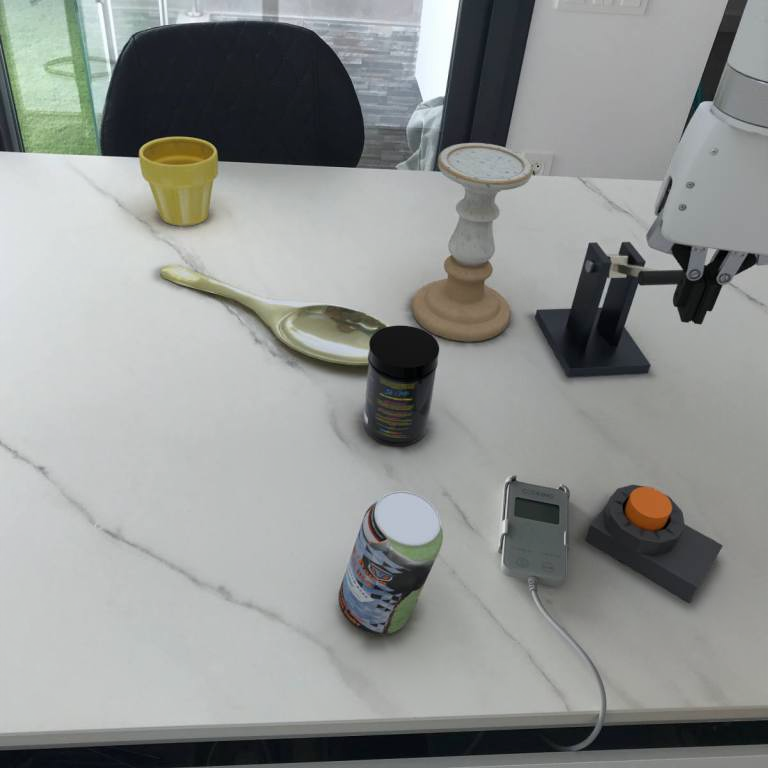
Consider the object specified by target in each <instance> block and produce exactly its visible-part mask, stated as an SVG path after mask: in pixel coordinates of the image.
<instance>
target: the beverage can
mask: <svg viewBox="0 0 768 768" xmlns="http://www.w3.org/2000/svg"><path fill="white" fill-rule="evenodd" d="M440 517H441V516H440V514H439V512H438V510H437V508H436V507H435V505H433V504H432V503H431V502H430V501H429V500H428V499H426V498H425V497H423V496H421V495H419V494H417V493H414V492H410V491H405V490H399V491H398V490H397V491H392V492H389V493H388V492H387V494H385V495H382V496H381V498H380V499H378V500H376V501H375V502H374V503H372V504H371V505H370V506H369V508H368V509H367V510H366V512H365V514H364V515H363V518H362V522H361V524H360V526H359V530H358V533H357V536H356V539H355V542H354V545H353V547H352V551H351V554H350V557H349V560H348V562H347V567H346V569H345V571H344V575H343V577H342V581H341V584H340V587H339V590H338V591H339V592H338V605H339V608H340V610H341V612H342V614H343V616H344V617H345V618H346V620H347V621H348V622H349V623H350V624H351V625H352V626H353V627H355V628H356V629H358V630H360V631H362V632H364V633H367V634H370V635H379V636H380V635H381V636H382V635H389V634H393V633H395V632H396V631H400V629H402V628H403V627H404V626H405V625H406V624H407V622H409V619H410V617H411V615H412V612H413V610H414V609H415V606H416V605H417V602H418V599H419V597H420V595H421V593H422V591H423V588H424V585H425V584H426V582H427V580H428V577H429V574H430V573H431V570H432V567H433V566H434V564H435V562H436V559H437V557H438V555H439V553H440V551H441V548H442V545H443V540H444V533H443V527H442V524H441V523H442V522H441V518H440Z"/></svg>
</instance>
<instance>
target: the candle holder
mask: <svg viewBox="0 0 768 768" xmlns="http://www.w3.org/2000/svg"><path fill="white" fill-rule="evenodd" d="M437 166H438V169H439V171H440V173H441V174H442V175H443V176H444V177H446V178H447V179H449V180H451V181H452V182H455V183H457V184H459V185H461V186H462V187H463V188H464V197H463V198H462V199H460V200H459V201H458V202H457V203H456V205H455V211H456V213H457V214H458V217H459V218H458V220H457V224H456V226H455V228H454V230H453V233H452V234H451V236H450V239H449V240H448V245H447V247H448V252H449V254H450V255H449V256H447V257H446V258H445V260H444V262H443V269H444V271H445V272H446V273H447V278H444V279H440V280H435V281H432V282H429V283H427V284H426V285H424V286H422V287H421V288H419V290H418V291H417V292H416V293H415V294H414V296H413V298H412V304H411V309H412V314H413V317H414V318H415V320H416V322H418V324H420V326H421V327H422V328H424V329H425V330H427V332H430V333H431V334H434V335H436V336H437V337H441V338H444V339H447V340H451V341H457V342H470V343H471V342H482V341H487V340H490V339H493V338H494V337H497V336H498V335H500V334H502V333H503V332H504V331H505V330H506V329H507V327H508V325H509V323H510V320H511V309H510V305H509V303H508V301H507V300H506V299H505V298H504V296H503V295H501V293H499V292H498V291H496V290H495V289H493V288H491V287H489V286H488V285H486V284H485V281H486V280H487V279H489V278H490V277H491V275H492V274H493V271H494V269H493V265H492V263H491V262H490V260H491V259H492V258H493V256H494V254H495V251H496V245H495V239H494V229H493V228H494V227H493V226H494V225H493V222H494V221H495V220H497V219H498V218H499V216H500V213H501V210H500V208H499V206H498V205H497V204H496V201H495V200H496V197H497V194H498V193H500V192H502V191H508V190H514V189H517V188H520V187H522V186H525V185H526V184H527V183H528V182H529V181H531V178H532V176H533V173H534V168H533V164H532V162H531V161H530V160H529V159H528V158H527V157H526V156H524V155H523V154H522V153H520V152H518V151H515V150H513V149H511V148H508V147H506V146H501V145H498V144H492V143H483V142H465V143H464V142H463V143H458V144H452V145H450V146H448V147H446V148H444V149H443V150H442V151H440V153H439V155H438V158H437Z"/></svg>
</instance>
